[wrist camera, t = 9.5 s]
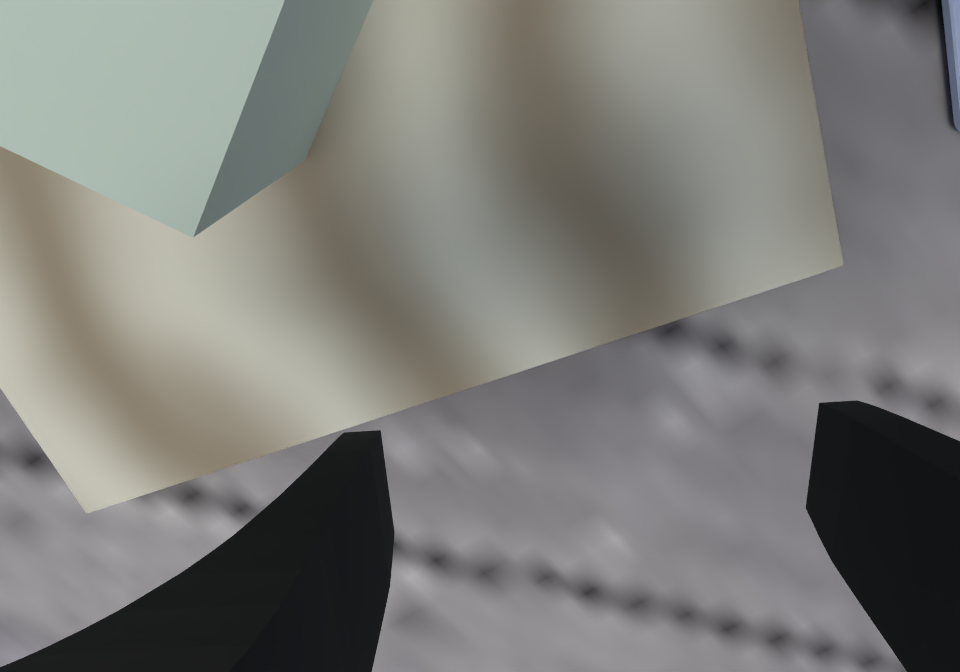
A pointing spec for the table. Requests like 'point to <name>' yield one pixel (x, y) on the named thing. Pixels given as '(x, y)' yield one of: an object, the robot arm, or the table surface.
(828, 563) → the table surface
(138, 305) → the shelf board
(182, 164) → the carton
